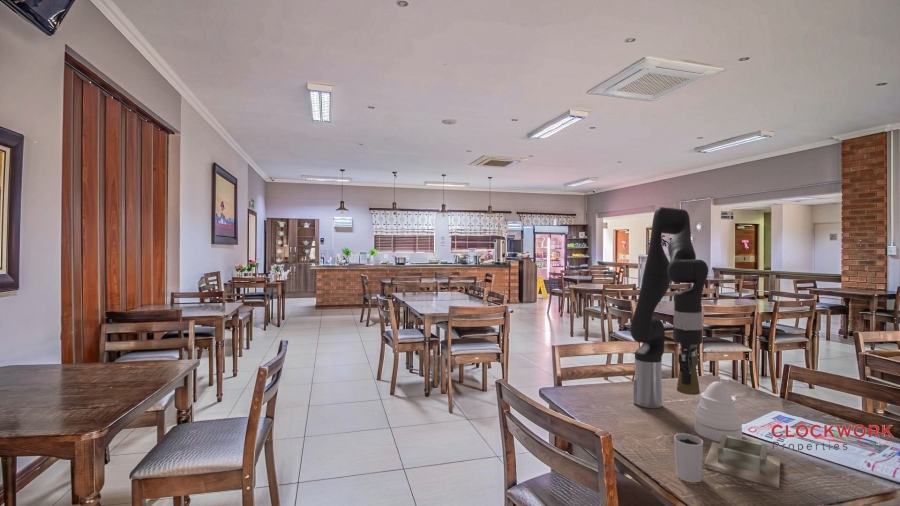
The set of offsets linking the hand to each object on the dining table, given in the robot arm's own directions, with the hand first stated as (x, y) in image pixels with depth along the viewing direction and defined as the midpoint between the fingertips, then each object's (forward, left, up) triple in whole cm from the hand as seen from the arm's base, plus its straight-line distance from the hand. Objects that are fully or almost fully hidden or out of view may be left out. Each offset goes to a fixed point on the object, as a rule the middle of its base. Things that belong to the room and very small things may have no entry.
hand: (688, 383), depth 124 cm
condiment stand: (+13, -2, -19) cm, 24 cm away
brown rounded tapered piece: (0, 0, -2) cm, 2 cm away
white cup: (+3, -18, -20) cm, 27 cm away
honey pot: (+5, +17, -20) cm, 27 cm away
